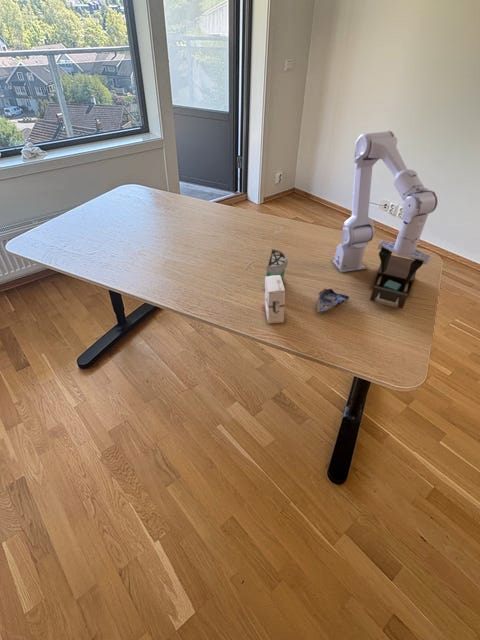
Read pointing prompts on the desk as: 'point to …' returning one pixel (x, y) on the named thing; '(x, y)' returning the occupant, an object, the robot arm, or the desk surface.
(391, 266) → the cabinet
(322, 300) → the snack package
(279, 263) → the food container
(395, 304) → the drawer
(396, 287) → the block
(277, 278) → the ink box
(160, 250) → the desk surface
